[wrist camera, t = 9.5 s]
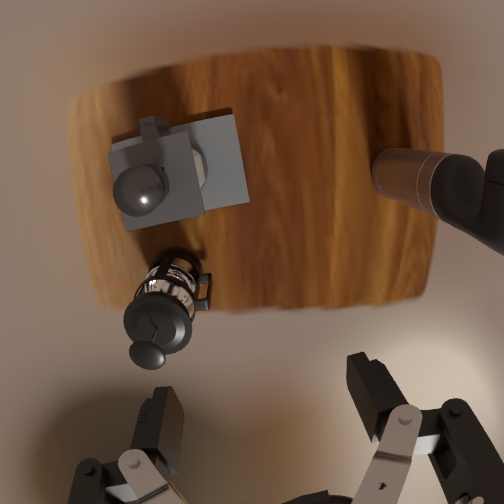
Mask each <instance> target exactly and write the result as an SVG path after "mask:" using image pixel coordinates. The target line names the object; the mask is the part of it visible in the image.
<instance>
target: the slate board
mask: <svg viewBox="0 0 504 504" xmlns="http://www.w3.org/2000/svg"><path fill="white" fill-rule="evenodd" d="M170 129H171V135H172V134H176V133H180V132H184V131H189V136H190V141H191V144H192V145H194V146H196V147H197V148H198V149H199V150H200V151H201V152H202V153H203V155H204V157H205V159H206V161H207V165H208V175H207V180H206V182H205V184H204V186H203V188H202V189H201V190H200V191H201V195H202V200H203V205H204V209H205V210H210V209H215V208H220V207H225V206H230V205H235V204H241V203H246V202H250V201H249V196H248V190H247V184H246V179H245V173H244V168H243V162H242V157H241V152H240V146H239V141H238V135H237V130H236V124H235V119H234V114H231V115H225V116H220V117H215V118H210V119H205V120H200V121H196V122H191V123H187V124H183V125H178V126H174V127H170ZM138 143H142V137H141V136H137V137H134V138H131V139H127V140H124V141H121V142H118V143H115V144H111V149H112V151H115V150H118V149H122V148H125V147H128V146H132V145H135V144H138Z"/></svg>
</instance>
